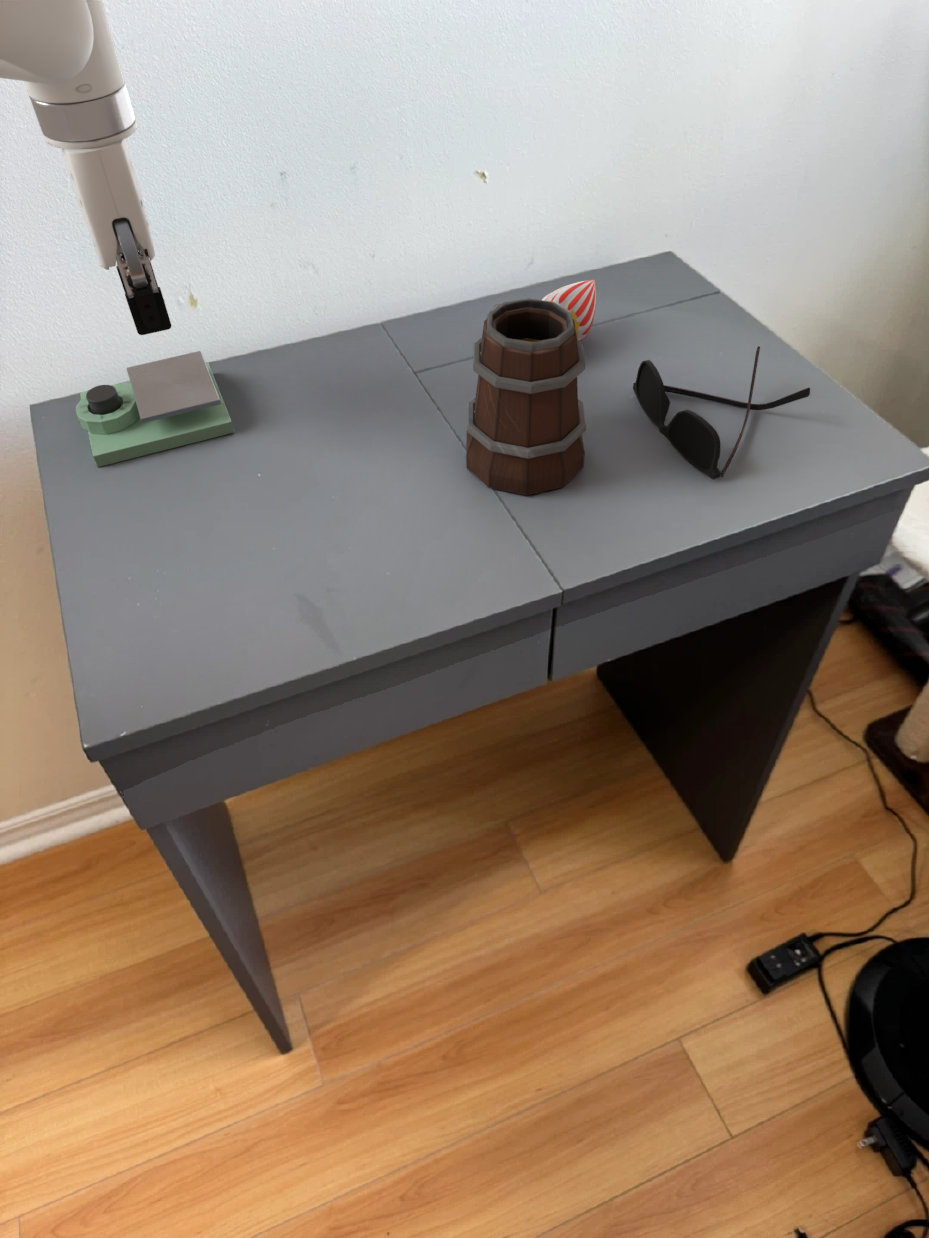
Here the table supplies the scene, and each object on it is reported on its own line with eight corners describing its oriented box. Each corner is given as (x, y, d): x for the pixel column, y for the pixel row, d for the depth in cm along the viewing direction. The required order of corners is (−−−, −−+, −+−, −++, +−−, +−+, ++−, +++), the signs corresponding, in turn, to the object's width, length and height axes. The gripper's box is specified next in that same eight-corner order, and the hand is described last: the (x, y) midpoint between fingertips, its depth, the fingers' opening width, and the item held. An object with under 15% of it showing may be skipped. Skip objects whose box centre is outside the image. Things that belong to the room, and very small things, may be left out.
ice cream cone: (497, 421, 99) (588, 308, 105) (534, 415, 93) (627, 296, 100) (465, 378, 95) (561, 264, 102) (502, 369, 90) (600, 250, 97)
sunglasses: (829, 452, 87) (844, 409, 83) (701, 486, 84) (711, 444, 80) (738, 364, 97) (748, 323, 94) (621, 392, 94) (627, 351, 91)
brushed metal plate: (142, 423, 88) (140, 418, 87) (127, 372, 94) (126, 367, 93) (221, 404, 89) (219, 399, 89) (202, 355, 96) (200, 350, 95)
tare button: (93, 418, 89) (87, 404, 88) (90, 403, 91) (84, 388, 89) (123, 411, 90) (117, 397, 88) (119, 396, 91) (113, 381, 90)
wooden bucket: (602, 479, 85) (619, 341, 74) (484, 506, 83) (483, 368, 71) (544, 391, 95) (551, 257, 83) (438, 413, 93) (430, 279, 81)
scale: (93, 468, 88) (82, 444, 86) (79, 404, 95) (69, 380, 93) (234, 432, 91) (228, 408, 89) (211, 373, 99) (204, 349, 96)
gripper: (30, 87, 76) (100, 285, 90) (47, 159, 66) (123, 370, 79) (117, 74, 78) (173, 270, 91) (147, 141, 67) (205, 351, 81)
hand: (149, 314), depth 85 cm, fingers closed on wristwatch, 5 cm apart
